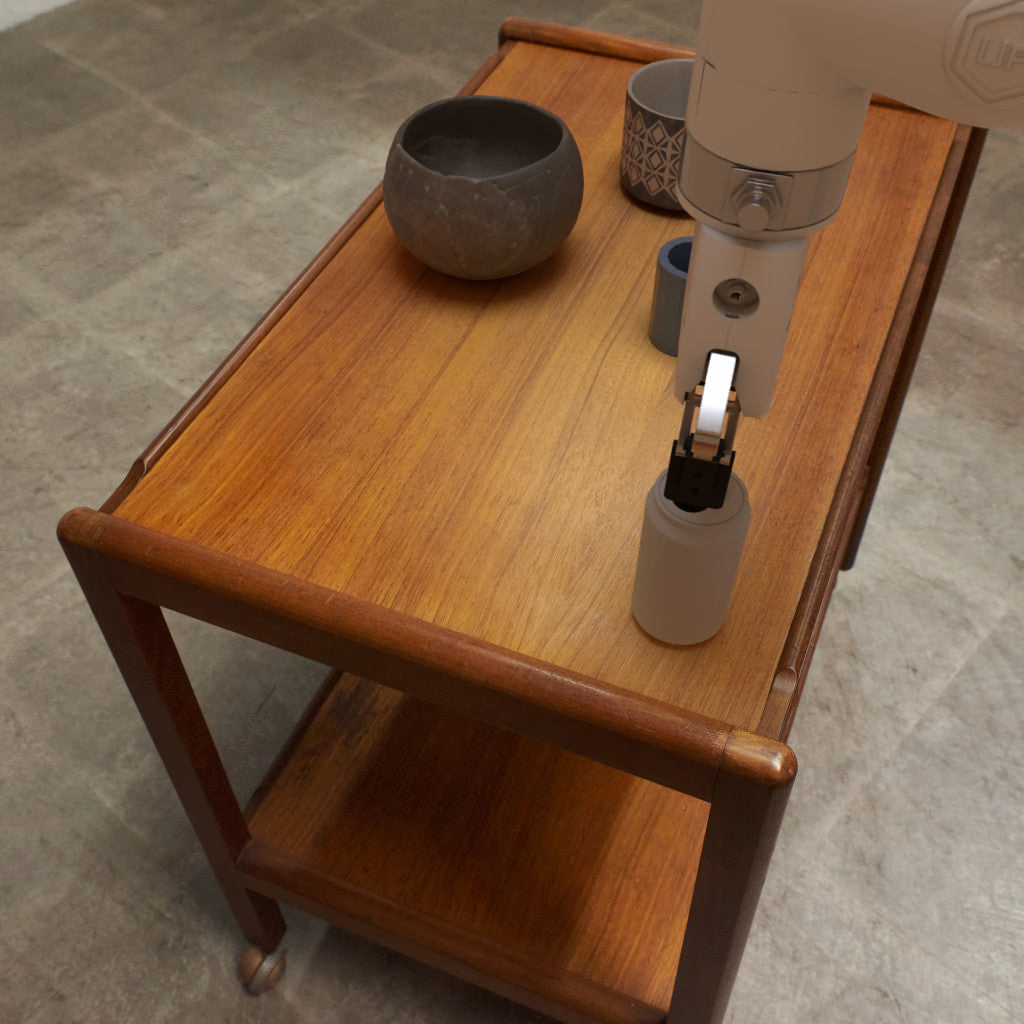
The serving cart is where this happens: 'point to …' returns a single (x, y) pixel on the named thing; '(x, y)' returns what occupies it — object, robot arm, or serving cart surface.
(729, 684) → the serving cart surface
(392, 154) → the bowl
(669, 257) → the cup
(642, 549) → the beverage can
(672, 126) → the planter
